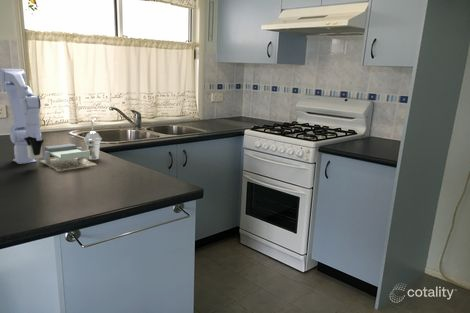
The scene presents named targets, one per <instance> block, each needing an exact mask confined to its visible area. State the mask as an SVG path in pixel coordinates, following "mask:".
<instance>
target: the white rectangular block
mask: <svg viewBox="0 0 470 313" xmlns="http://www.w3.org/2000/svg"><path fill="white" fill-rule="evenodd" d="M27 152H28V158H30V159H35V160H36V159H42V158H43V159H44V151H43V145H42V146H41V150H40V155H34V153H33V149H32V146H31V145H27Z"/></svg>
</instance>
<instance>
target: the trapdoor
mask: <svg viewBox="0 0 470 313" xmlns="http://www.w3.org/2000/svg"><path fill="white" fill-rule="evenodd" d="M44 151H49V152H50V159H52V158H59V159H61V160H66V159H73V158H80V157H83V158H87V157H88V158H89V156H90V150H83V151H80V150H78V149H77V144H74V143H66V144H65V143H64V144H58V145H57V144H56V145H47V146H44Z"/></svg>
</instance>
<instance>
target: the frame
mask: <svg viewBox="0 0 470 313" xmlns="http://www.w3.org/2000/svg"><path fill="white" fill-rule="evenodd" d="M77 149H78V150H80V151H84V149H83V147H81V146H80V147H77ZM39 162H40V163H42V164H44V165H46V166H47V167H49V168H51V169H53V170H54V171H56V172H64V171H69V170H75V169H81V168H82V169H83V168H88V167H93V166H97V163H95V162H92V161H91V160H89V159H86V158H84V157H80V158H73V159H66V160H61V159H59V158H57V157H55V158H50V152H49V151H45V150H44V151H43V159H41V160H40V161H39Z"/></svg>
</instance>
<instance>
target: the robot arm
mask: <svg viewBox="0 0 470 313" xmlns="http://www.w3.org/2000/svg"><path fill="white" fill-rule="evenodd" d="M26 79H27V78H26V71H25V70H24V69H23V68H0V85H1V89H4V90H6V93H7V97H8V101H9V105H10V109H11V113H12V118H13V124H12V125H11V126H10V127H9V138H10V142H11V143H13V144H14V147H13V152H14V153H13V154H14V159H12V161H13V162H15V163H17V164H18V165H19V164H20V165H22V164H29V163H36V162H38V160H37V159H36V158H35V159H30V158H28V152H27V145H31V146H32V149H33V153H34V155H40V150H41V146H42V147H43V143H44V141H45V139H43V136H42V132H41V121H40V109H41V107H42V106H41V99H40V96H39V95H36V94H35V93H34V92H33V90H32V88H31V87H30V86H29V85H26V82H25V81H26Z"/></svg>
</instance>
